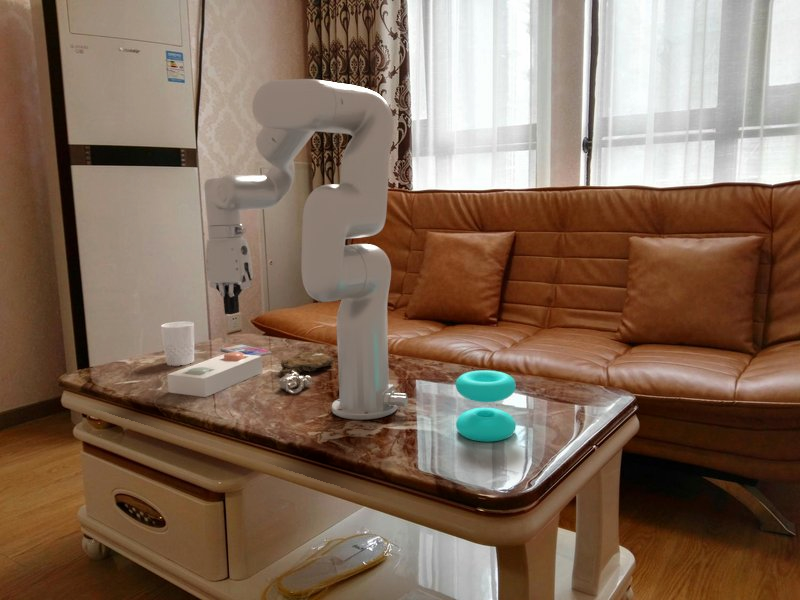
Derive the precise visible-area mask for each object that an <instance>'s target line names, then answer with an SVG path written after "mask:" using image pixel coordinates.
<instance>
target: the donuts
mask: <svg viewBox="0 0 800 600" xmlns="http://www.w3.org/2000/svg"><path fill="white" fill-rule="evenodd" d="M455 388H456V391H457V392H458V393H459V394H460V395H461V396H462V397H463V398H466V399H468V400H470V401H474V402H480V403H494V402H500V401H503V400H506V399H508V398H510V397H511V396H512V395H513V394H514V393H515V391H516V388H517V385H516V381H515V378H514V377H512V376H511V375H509V374H507V373H505V372H503V371H497V370H486V369H485V370H481V369H480V370H472V371H468V372H465V373H463V374H461V375H460V376H458V377H457V379H456V381H455ZM455 423H456V424H455V425H456V430H457V431H458V433H459V434H460V435H461V436H463V437H464V438H466V439H469V440H470V441H471V440H472V441H477V442H486V443H487V442H488V443H489V442H499V441H502V440H503V441H504V440H506V439H508V438H510V437H511V436H512V435H513V434H514V433H515V432H516V431H515V430H516V428H517V427H516V426H517V425H516V421H515V419H514V418H513V416H511V414H509V413H508V412H506V411H504V410H501V409H499V408H493V407H475V408H471V409H468V410H466V411H464V412H462V413H461V414H460V415H459V416H458V418H457V420H456V422H455Z"/></svg>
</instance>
